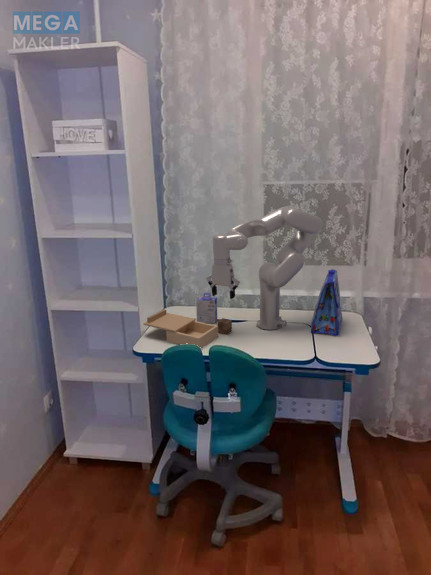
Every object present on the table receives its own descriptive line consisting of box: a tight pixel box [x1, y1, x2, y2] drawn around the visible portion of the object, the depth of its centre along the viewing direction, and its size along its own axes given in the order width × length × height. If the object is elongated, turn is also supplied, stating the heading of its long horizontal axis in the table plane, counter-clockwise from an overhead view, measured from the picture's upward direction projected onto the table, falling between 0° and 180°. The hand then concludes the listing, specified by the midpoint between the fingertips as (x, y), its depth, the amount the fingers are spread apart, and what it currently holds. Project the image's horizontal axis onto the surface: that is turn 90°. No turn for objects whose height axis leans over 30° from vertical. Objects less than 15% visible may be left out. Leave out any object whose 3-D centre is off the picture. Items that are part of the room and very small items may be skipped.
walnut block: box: [216, 317, 233, 336], centre depth 222 cm, size 5×5×6 cm
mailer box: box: [165, 320, 219, 349], centre depth 215 cm, size 18×16×5 cm
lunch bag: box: [310, 269, 343, 337], centre depth 222 cm, size 22×14×29 cm, turn 161°
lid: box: [143, 308, 197, 332], centre depth 220 cm, size 18×16×3 cm
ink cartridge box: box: [195, 292, 218, 324], centre depth 234 cm, size 10×6×14 cm, turn 79°
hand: (223, 296), depth 217 cm, fingers open, 9 cm apart
